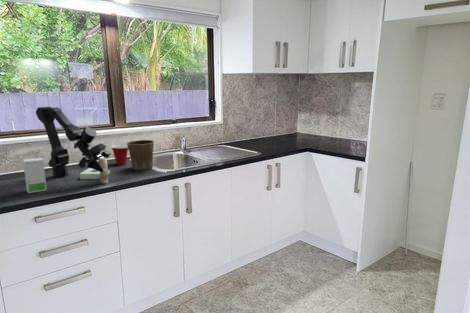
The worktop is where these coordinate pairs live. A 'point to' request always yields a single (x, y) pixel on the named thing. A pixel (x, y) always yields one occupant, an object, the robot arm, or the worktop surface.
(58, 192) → the worktop surface
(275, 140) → the worktop surface
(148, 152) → the plant pot
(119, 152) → the plastic cup
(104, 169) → the ash peg
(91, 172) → the socket board
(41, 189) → the skincare box
